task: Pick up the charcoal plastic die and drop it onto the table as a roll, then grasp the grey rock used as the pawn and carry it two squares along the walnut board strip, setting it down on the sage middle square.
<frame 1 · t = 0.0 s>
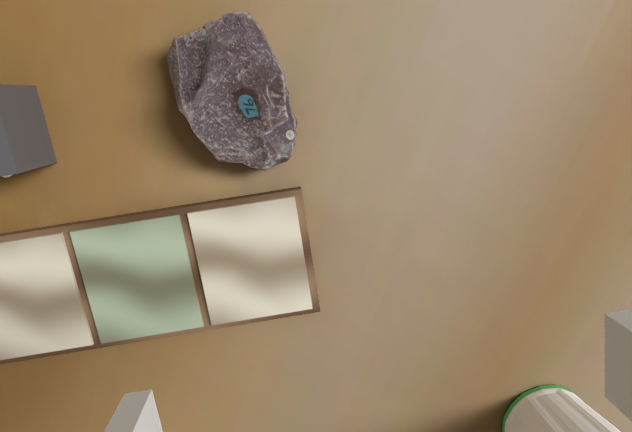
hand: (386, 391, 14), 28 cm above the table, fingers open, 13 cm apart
board: (143, 275, 42), on the table
die: (8, 130, 38), on the table
rock: (236, 96, 39), on the table
cup: (542, 420, 48), on the table
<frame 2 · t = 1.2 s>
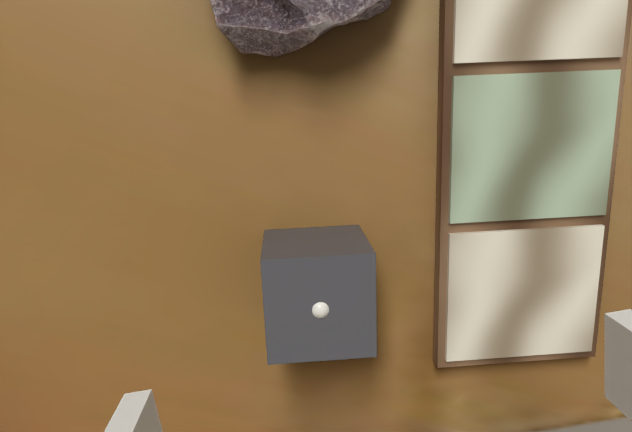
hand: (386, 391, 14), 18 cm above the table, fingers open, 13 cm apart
board: (522, 146, 31), on the table
die: (313, 271, 32), on the table
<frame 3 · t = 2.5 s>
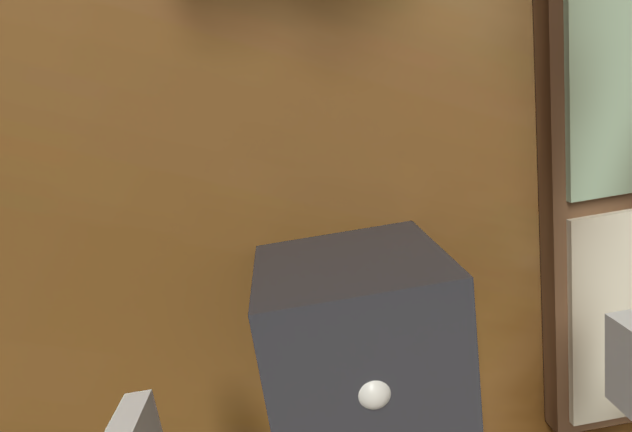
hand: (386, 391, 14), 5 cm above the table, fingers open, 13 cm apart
die: (344, 304, 19), on the table
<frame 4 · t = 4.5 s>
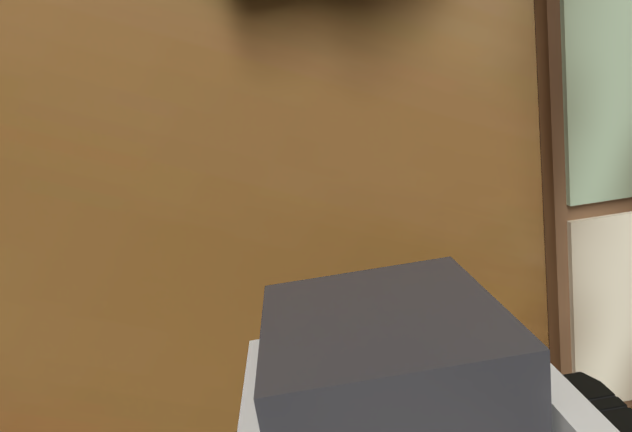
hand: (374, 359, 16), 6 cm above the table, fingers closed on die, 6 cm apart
die: (369, 355, 16), point 6 cm above the table, touching gripper
when the fingers open (8 cm above the table, at t = 5.5 s): die drops 8 cm, on the table.
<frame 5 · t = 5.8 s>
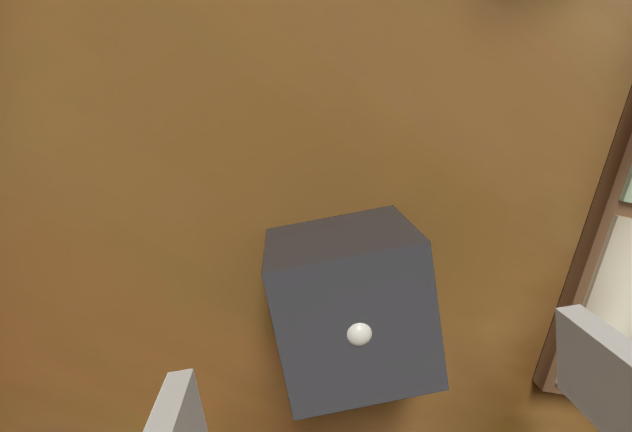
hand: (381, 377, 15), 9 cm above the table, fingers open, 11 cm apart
die: (340, 275, 24), on the table
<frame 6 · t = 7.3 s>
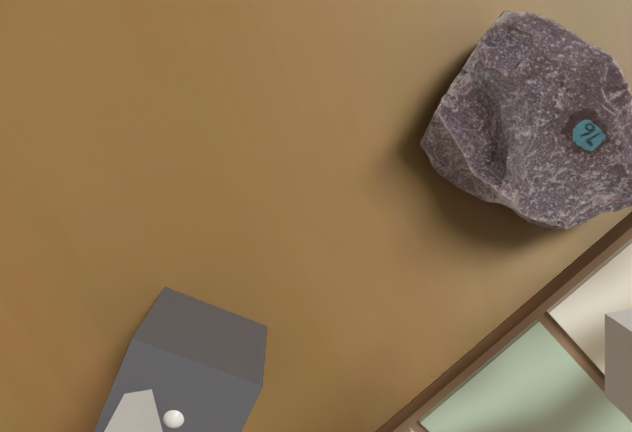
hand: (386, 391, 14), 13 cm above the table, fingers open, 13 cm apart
board: (521, 413, 30), on the table
die: (197, 352, 27), on the table
rock: (512, 132, 26), on the table
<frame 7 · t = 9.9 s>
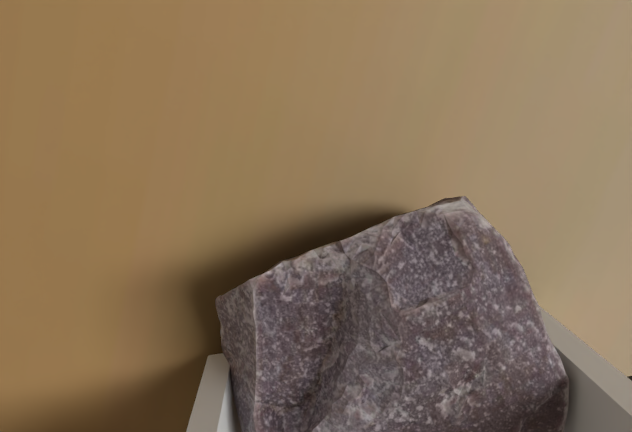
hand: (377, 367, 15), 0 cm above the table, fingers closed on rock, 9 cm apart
rock: (375, 355, 16), on the table, touching gripper
when the fingers open (3 cm above the table, at t = 15.0 s): rock drops 1 cm, resting on board.
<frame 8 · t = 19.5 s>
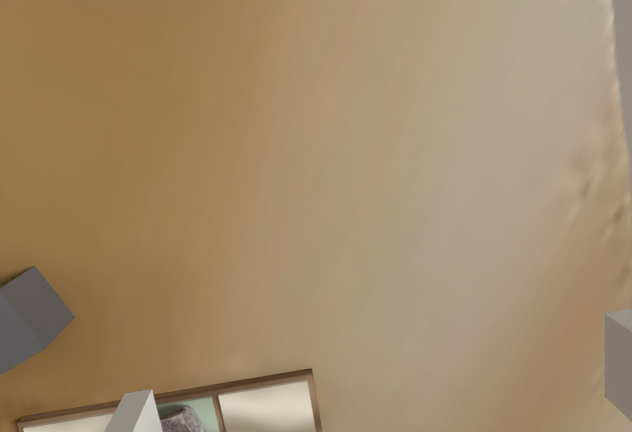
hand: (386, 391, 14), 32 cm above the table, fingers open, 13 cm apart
die: (29, 307, 46), on the table
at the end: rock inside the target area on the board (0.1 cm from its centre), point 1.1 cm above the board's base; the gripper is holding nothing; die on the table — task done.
